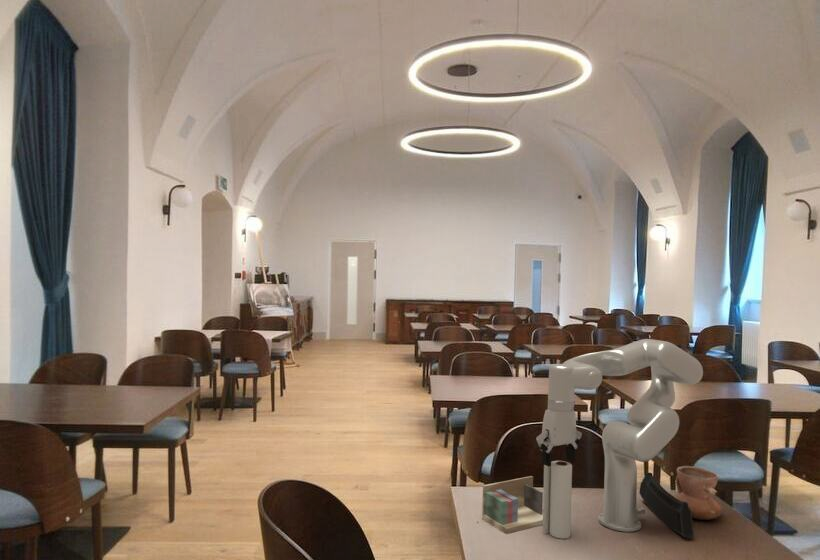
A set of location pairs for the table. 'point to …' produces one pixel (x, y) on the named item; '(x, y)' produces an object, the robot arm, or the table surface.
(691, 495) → the ceramic jug
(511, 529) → the book rack
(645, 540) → the table surface
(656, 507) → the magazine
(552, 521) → the paper towel roll
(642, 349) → the robot arm
